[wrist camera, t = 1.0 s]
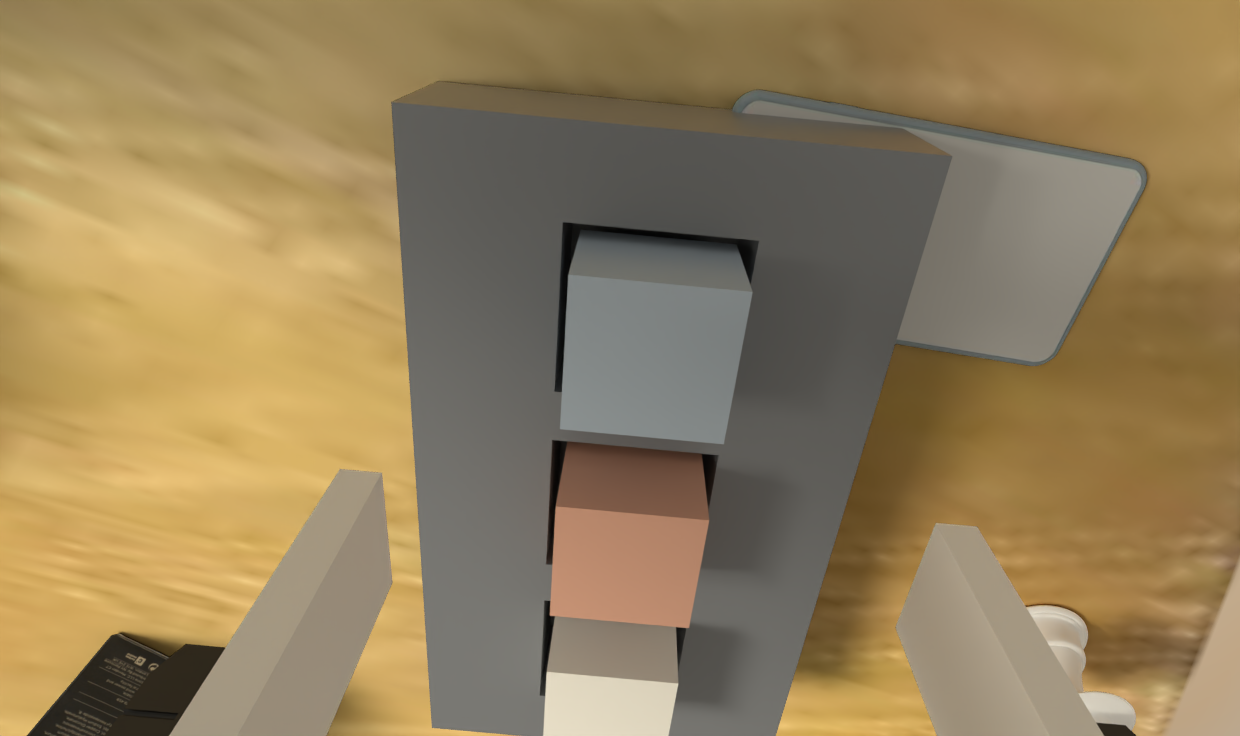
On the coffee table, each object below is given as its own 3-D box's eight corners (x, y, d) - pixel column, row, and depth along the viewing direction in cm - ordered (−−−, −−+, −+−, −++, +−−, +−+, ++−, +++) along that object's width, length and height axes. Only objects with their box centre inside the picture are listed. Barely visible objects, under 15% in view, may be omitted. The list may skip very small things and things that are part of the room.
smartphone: (1051, 371, 28) (686, 312, 27) (1038, 360, 29) (684, 302, 28) (1160, 164, 24) (739, 86, 23) (1143, 158, 25) (735, 82, 24)
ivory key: (553, 670, 33) (542, 753, 29) (558, 591, 30) (546, 671, 27) (661, 680, 33) (663, 763, 29) (674, 602, 30) (678, 683, 27)
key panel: (457, 641, 38) (432, 727, 33) (437, 80, 24) (391, 102, 20) (755, 668, 38) (768, 757, 33) (898, 125, 24) (952, 156, 20)
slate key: (572, 366, 25) (560, 429, 21) (580, 229, 23) (568, 274, 19) (713, 379, 25) (723, 444, 21) (736, 244, 23) (752, 292, 19)
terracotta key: (561, 538, 29) (549, 615, 25) (568, 437, 26) (555, 506, 23) (683, 549, 29) (688, 628, 25) (701, 449, 26) (709, 520, 23)
